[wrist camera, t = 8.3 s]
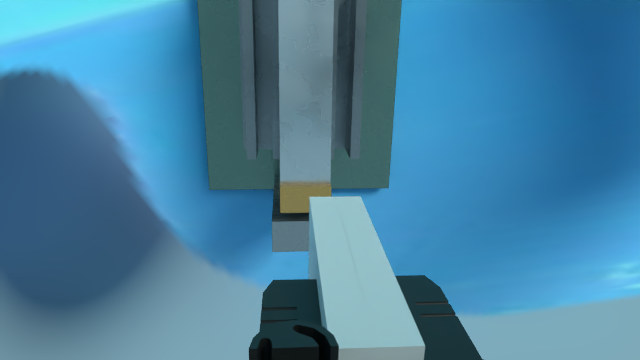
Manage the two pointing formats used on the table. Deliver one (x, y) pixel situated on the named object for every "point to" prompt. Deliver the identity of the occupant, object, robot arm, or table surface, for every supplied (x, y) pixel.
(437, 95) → the table surface
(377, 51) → the heatsink
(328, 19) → the strap
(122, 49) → the table surface
